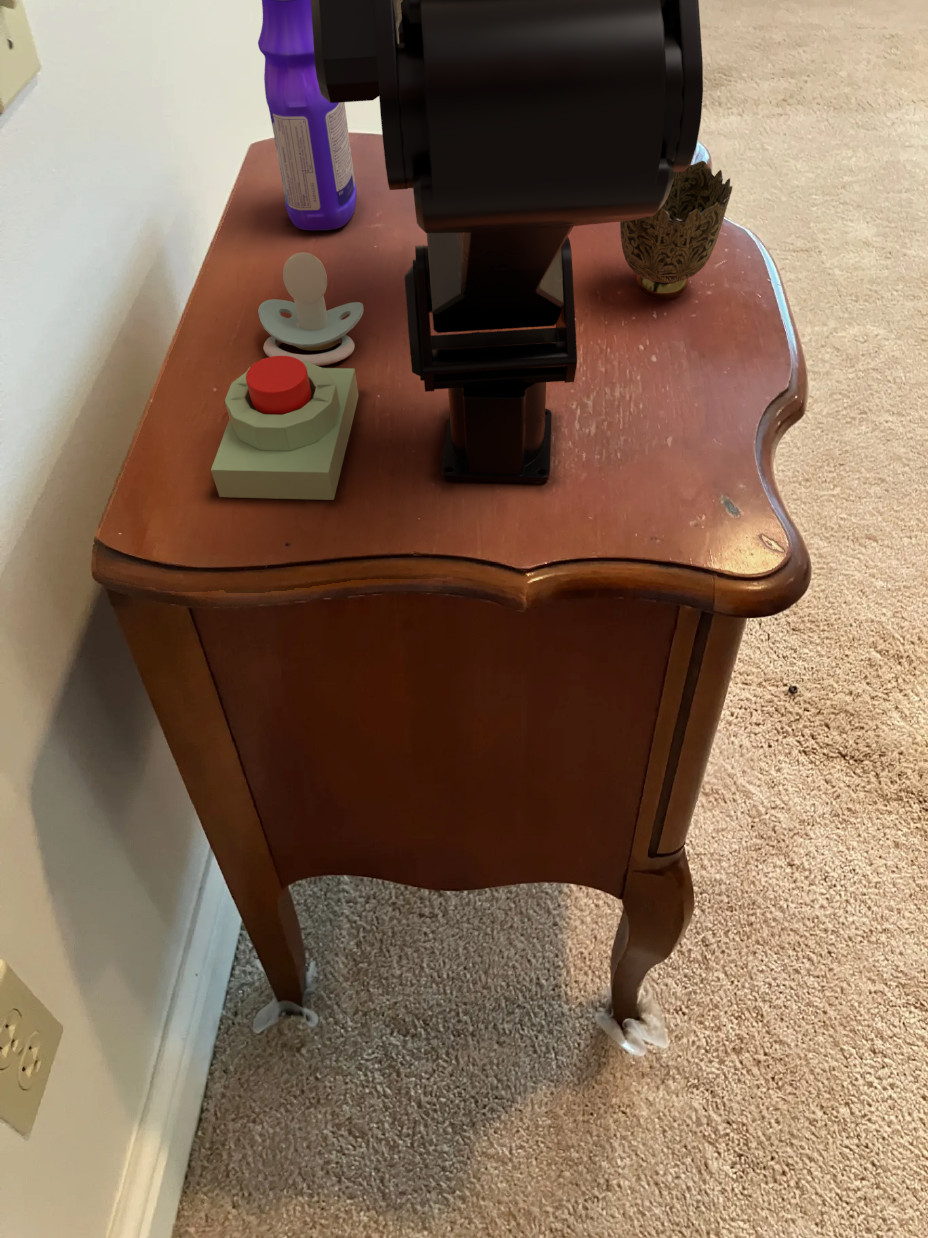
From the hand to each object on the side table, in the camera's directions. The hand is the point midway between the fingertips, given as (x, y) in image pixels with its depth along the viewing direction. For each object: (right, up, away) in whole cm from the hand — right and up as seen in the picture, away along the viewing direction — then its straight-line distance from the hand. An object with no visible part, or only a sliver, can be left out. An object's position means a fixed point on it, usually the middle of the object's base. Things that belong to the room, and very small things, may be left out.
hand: (470, 111), depth 64 cm
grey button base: (-11, -24, -5) cm, 27 cm away
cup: (+14, -11, +5) cm, 18 cm away
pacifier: (-11, -16, +2) cm, 19 cm away
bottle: (-12, -1, +14) cm, 19 cm away
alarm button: (-11, -21, -7) cm, 25 cm away
